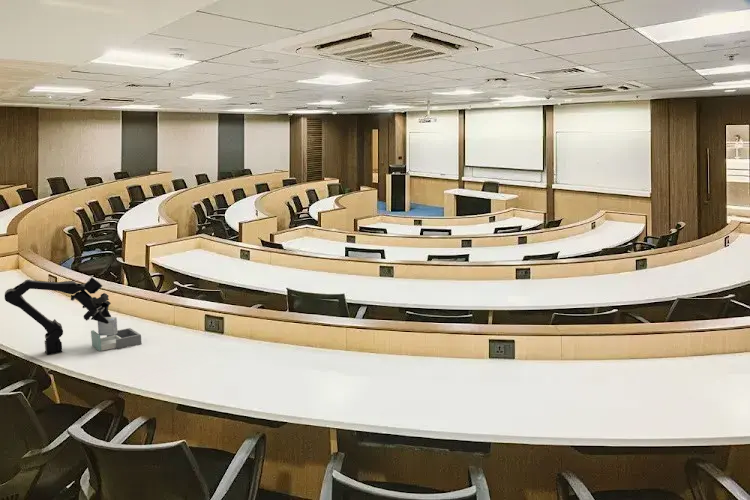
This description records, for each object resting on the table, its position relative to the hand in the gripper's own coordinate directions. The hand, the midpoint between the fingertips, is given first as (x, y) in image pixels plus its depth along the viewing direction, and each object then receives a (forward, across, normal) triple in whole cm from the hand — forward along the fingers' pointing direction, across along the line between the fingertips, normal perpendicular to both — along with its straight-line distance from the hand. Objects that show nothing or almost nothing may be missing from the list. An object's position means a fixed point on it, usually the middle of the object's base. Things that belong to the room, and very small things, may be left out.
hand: (110, 321), depth 282 cm
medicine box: (+4, 0, +6) cm, 7 cm away
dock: (+12, +6, +7) cm, 15 cm away
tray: (+8, +1, +11) cm, 13 cm away
